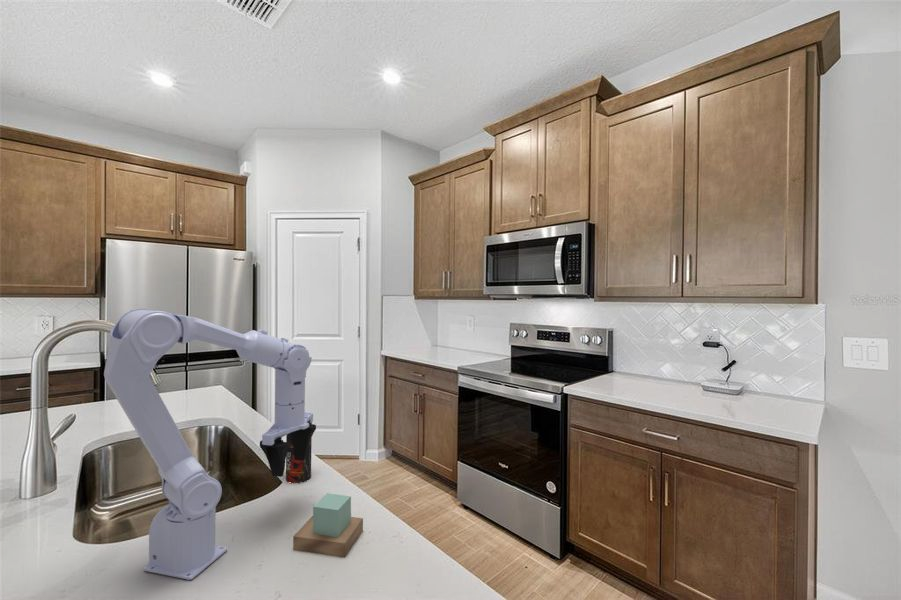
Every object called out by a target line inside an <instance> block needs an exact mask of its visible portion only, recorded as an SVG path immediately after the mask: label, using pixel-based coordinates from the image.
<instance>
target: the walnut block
mask: <svg viewBox="0 0 901 600" xmlns="http://www.w3.org/2000/svg"><path fill="white" fill-rule="evenodd" d="M363 532H364V518H363V517H354V516H351V522H350V524H349V525H348V526H347V527H346V528H345V530H344V531H343V532H342V533H341V534H340V536H339V537H332V536H325V535H319V534H313V515H312V516H311V517H310V518H309V519H308V520H307V521H306V522H305V523H304V524H303V525H302V526H301V527H300V529H299V530H297V532H296V533H295V534H294V535H293V540H292V541H293V543H292V545H293V546H292V548H293V551H297V552H304V553H309V554H310V553H312V554H317V555H318V554H319V555H324V556H330V557H331V556H332V557H337V558H338V557H339V558H346V557H347V555H348V554H349V553H350V552H351V551H350V550H351V549H352V548H353V546H354V545H355V544H356V542H357V540H358V539H359V537H360V536H361V534H363Z"/></svg>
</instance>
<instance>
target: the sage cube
mask: <svg viewBox="0 0 901 600" xmlns="http://www.w3.org/2000/svg"><path fill="white" fill-rule="evenodd" d="M312 516H313V534H319V535H325V536H332V537H339V536H340V534H341V533H342V532H343V531H344V530H345V528H346V527H347V526H348V525H349V524H350V522H351V517H352V496H351V495H345V494H344V495H343V494H337V493H329V492H328V493H326V494H325V495H324V496H322V498H320V500H318V501H317V502H316V503H315V504H314V505H313V506H312Z"/></svg>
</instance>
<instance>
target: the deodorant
mask: <svg viewBox="0 0 901 600" xmlns="http://www.w3.org/2000/svg"><path fill="white" fill-rule="evenodd" d="M310 424H313V422H311V423H310ZM285 436H286V437H285V438H286V440H285V442H290V443H291V444H290V446H289V448H288V451H287V455H286V460H285V482H286V481H287V482H286V483H288V482H291V483H290V484H292V483H298V484H301V483H300V482H303V483H305V482H308V481H309V480H310V479H311V478H312V446H313V445H312V439H313V438H312V437H313V436H312V437H311V440H310V443H309V446H308V450H307V454H306V457H305V460H304V461H300V460H295V459H294V452H293V441H292V437H291V433H289V434H287V435H285ZM307 480H308V481H307ZM304 481H305V482H304Z"/></svg>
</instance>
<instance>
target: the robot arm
mask: <svg viewBox="0 0 901 600" xmlns="http://www.w3.org/2000/svg"><path fill="white" fill-rule="evenodd" d="M195 340H196V341H200V342H204V343H208V344H213V345H215V346H219V347H224V348H228V349H232V350H235V351H236V353H237V355H238V357H239V359H241V361H245V362H250V363H254V364H258V365H262V366H265V367H269V368H272V369H274V372H275V374H274V375H275V376H274V377H275V379H274V423H273V424H272V425H271V427H269V428H268V429H267V431H266V432H264V433H263V434H262V435H261V436H262V437H261V440H260V441H259V448H260V449H261V450H262V452H263V454H264V455H265V458H266V460H267V462H268V465H269V469H270V472H271V476H272V477H278V478H279V477H283V476H284V474H285V470H286V455H287V451H288V448H289V446H290V444H291V443H290V442H286V441H284V439H283V438H284V437H285V436H286V435H287V434H289V433H291V437H292V441H293V452H294V459H295V460H300V461H304V460H305V457H306V454H307V450H308V446H309V443H310V440H311V437H313V435H314V433H315V431H316V430H317V424H313V422H314V413H313V412H305V409H306V408H305V406H306V401H305V400H306V378H307V371H308V369H309V367H310V366H311V363H312V358H313V357H312V356H310V352H309V350H308V349H307V347H305V346H304V345H302V344H297V343H291V342H289V339H288V338H286V337H281V338H278V337H275V336H272V335H269V334H268V331H267V330H264V329H257V330H254V329H252V330H250V331H247V332H245V333H241V332H238V331H235V330H232V329H229V328H227V327H223V326H222V325H218V324H215V323H212V322H210V321H207V320H204V319H201V318H199V317H194V316H189V315H182V314H175V313H170V312H168V311H163V310H151V309H149V308H148V309H147V308H143V307H142V308H140V307H139V308H134V309H130V310H129V311H127V312H125V313H124V314H123V315H120V317H119V319H117V321H116V322H115V324H114V326H113V327H112V328H111V330H110V331H109V345H108V350H107V356H106V360H105V366H104V371H103V376H104V379H105V382H106V384H107V385H108V387H109V388H110V390H111V392H112V394H113V395H114V397H115V399H116V400H117V402H118V404H119V405H120V407H121V408H122V410H123V412H124V414H125V415H126V416H127V417H126V418H128V421H130V423H131V425H132V426H133V429H134V430H135V432H136V433H137V436H138V437H139V438H140V440H141V442H142V443H143V445H144V446H145V448H146V450H147V451H148V453H149V456H151V458H152V460H153V461H154V464H155V465H156V467H157V469H158V470H157V473H158V474H159V475H160V478H161V494H162V495H163V496H164V498H166V500H168V505H166V506H165V507H163V508H162V509H160V510H159V511H158V512H157V513H156V515H155V516H154V517H153V518H152V521H151V523H150V525H149V530H148V564H147V565H145V566H144V567H143V571H145V572H148V573H149V572H150V573H153V574H158V575H164V576H169V577H174V578H179V579H183V580H184V579H185V580H193V579H194V578H196V577H197V576H198V575H199V574H200V573H202V572H203V571H204V570H206V568H207V567H209V566H210V565H211V564H212V563H214V562H215V561H216V560H217V559H218V558H220V557H221V556H222V555H223V554H225V552H227V551H228V547H227V546H225V545H224V546H223V545H218V544H217V545H216V522H217V521H216V518H217V517H216V515H217V514H216V511H217V509H216V508H217V507H216V506H217V505H218V504H219V502H220V500H221V497H222V495H223V494H222V493H223V492H222V491H223V489H222V485H221V483H220V482H219V480H217V479H216V478H214V477H211V476H210V475H209V474H208V473H207V471H206V470H205V468H204V467H203V466H202V464H201V463H200V462H199V461H198V460H197V459H196V457H195V455H194V454H193V452H192V450H191V449H190V447H189V445H188V443H187V442H186V441H185V439H184V437H183V434H182V433H181V431H180V429H179V428H178V426H177V423H176V422H175V421H174V419H173V417H172V414H171V413H170V412H169V410H168V408H167V406H166V404H165V403H164V401H163V399H162V397H161V395H160V393H159V392H158V389H157V387H156V386H155V383H153V381H152V379H151V378H150V374H151V373H152V371H153V370H154V368H155V366H156V365H157V363H158V361H159V360H160V359H161V358H162V357H163V356H165V354H167V353H168V352H169V351H170V350H171V349H172V348H173V347H174V346H175V345H176V344H177V343H178V344H181V345H185V344H187V343H190V342H193V341H195ZM311 422H312V424H310V423H311Z"/></svg>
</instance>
